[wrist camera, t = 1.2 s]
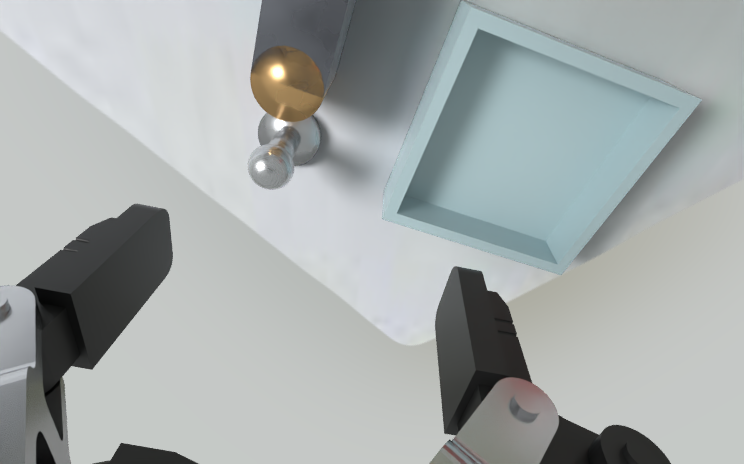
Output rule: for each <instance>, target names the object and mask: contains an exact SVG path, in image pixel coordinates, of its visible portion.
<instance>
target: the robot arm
mask: <svg viewBox="0 0 744 464" xmlns="http://www.w3.org/2000/svg"><path fill="white" fill-rule="evenodd" d="M172 259H173V252H172V243H171V232H170V221H169V214H168V212H167V211H166V210H165V209H162V208H156V207H151V206H146V205H141V204H134V205H132V206H131V207H129V208H128V209H127V210H126V211H125V212H124V213H122V214H121V215H120V216H119V217H118V218H109V219H107V220H104V221H102V222H100V223H97V224H95V225H93V226H90V227H89V228H88V229H87V230H85V231H84V232H83V233H82V234H80V235H79V236H78V237H76V240H73V241H72V242H70V243H69V244H68V245H66V246H65V247H64V250H60V251H59V252H58V253H56V254H55V255H54V256H52V257H51V258H50V259H49V260H47V261H46V262H45V263H44V264H42V265H41V266H40V267H39V268H37V269H36V270H35V271H34V272H32V273H31V274H30V275H29V276H28V277H26V278H25V279H23V280H22V281H21V282H20V283H18V284H17V285H16V286H9V285H7V286H0V464H71V461H70V456H69V447H68V431H67V416H66V401H65V384H64V380H63V378H62V376H63V375H64V374H65V373H66V372H67V370H68V369H69V368H70V367H71V366H75V367H80V368H86V369H93V368H94V366H95V365H96V364H97V363H98V361H99V360H100V359H101V358H102V356H103V355H104V354H105V353H106V351H107V350H108V349H109V348H110V346H111V345H112V344H113V343H114V341H115V340H116V339H117V337H118V336H119V335H120V334H121V333H122V331H123V330H124V329H125V328H126V326H127V325H128V324H129V323H130V321H131V320H132V319H133V318H134V316H135V315H136V314H137V312H138V311H139V310H140V309H141V307H142V306H143V305H144V304H145V303H146V301H147V300H148V299H149V297H150V296H151V295H152V294H153V293H154V291H155V290H156V289H157V287H158V286H159V285H160V284H161V282H162V281H163V280H164V279H165V277H166V276H167V274H168V272H169V270H170V268H171V265H172ZM512 323H513V320H512V317H511V314H510V311H509V308H508V306H507V305H506V303H505V302H504V301H503V300H502V298H501V297H500V296H499V294H498V293H497V292H492V291H487V288H486V285H485V281H484V277H483V274H482V272H481V271H477V270H472V269H467V268H462V267H456V266H455V267H454V268H453V269H452V271H451V273H450V276H449V279H448V281H447V284H446V287H445V289H444V292H443V295H442V298H441V300H440V303H439V306H438V309H437V314H436V321H435V330H436V341H437V352H438V365H439V376H440V388H441V399H442V411H443V422H444V433H445V434H451V435H456V436H455V438H454V439H453V440H452V441H451V440H449V441H448V442H447V443H446V444H445V445H444V446H443V447H442V448H441V450H440V451H439V452H438V453H437V455H436V456H435V457H434V458H433V460H432V461H431V462H430V464H671V463H670V461H669V460H668V458H667V457H666V456H665V454H664V453H663V452H662V451H661V450H660V449H659V448H658V447H657V446H656V445H655V444H654V443H653V442H652V441H651V440H650V439H648V438H647V437H645V436H644V435H642V434H641V433H639V432H638V431H636V430H633V429H631V428H629V427H625V426H621V425H612V426H608V427H607V428H605V429H604V430H603V432H602V433H601V434H600V435H598V434H596V433H593V432H591V431H589V430H587V429H585V428H583V427H581V426H579V425H577V424H574V423H572V422H570V421H568V420H566V419H564V418H562V417H561V416H559V415H558V413H557V410H556V407H555V405H554V404H553V402H552V401H551V399H550V398H549V397H548V396H547V394H545V393H544V392H543V391H542V390H541V389H540V388H539V387H537V386H536V385H534V384H532V381H531V378H530V375H529V371H528V369H527V365H526V362H525V359H524V356H523V352H522V349H521V346H520V343H519V340H518V337H516V334H517V333H516V330H515V327H514V325H513V324H512ZM94 464H198V463H196V462H194V461H192V460H190V459H188V458H186V457H184V456H182V455H180V454H178V453H176V452H171V451H165V450H159V449H153V448H147V447H142V446H136V445H130V444H124V443H121V444H120V446H119V448H118V449H117V451H116V452H115V454H114V456H113V457H112V459H111V460H110V461H104V462H99V463H94Z"/></svg>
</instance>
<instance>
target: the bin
mask: <svg viewBox="0 0 744 464" xmlns="http://www.w3.org/2000/svg"><path fill="white" fill-rule="evenodd" d="M701 101H702V99H700V98H697V97H695V96H693V95H691V94H689V93H687V92H685V91H683V90H681V89H679V88H677V87H675V86H673V85H671V84H669V83H667V82H665V81H662V80H660V79H657V78H655V77H652V76H650V75H647V74H645V73H642V72H640V71H637V70H635V69H632V68H630V67H627V66H625V65H622V64H620V63H618V62H615V61H613V60H610V59H608V58H605V57H603V56H600V55H598V54H595V53H593V52H590V51H588V50H585V49H583V48H580V47H578V46H575V45H573V44H570V43H568V42H565V41H563V40H561V39H558V38H556V37H553V36H551V35H548V34H546V33H543V32H541V31H538V30H536V29H533V28H531V27H528V26H526V25H523V24H521V23H518V22H516V21H513V20H511V19H508V18H506V17H504V16H501V15H499V14H496V13H494V12H491V11H489V10H486V9H484V8H481V7H479V6H476V5H474V4H471V3H469V2H466V1H464V0H461V2H460V4H459V7H458V9H457V12H456V14H455V17H454V19H453V22H452V24H451V27H450V29H449V32H448V34H447V37H446V39H445V41H444V44H443V46H442V49H441V51H440V54H439V56H438V59H437V61H436V64H435V66H434V69H433V71H432V74H431V76H430V79H429V81H428V84H427V86H426V89H425V91H424V93H423V96H422V98H421V101H420V103H419V106H418V108H417V111H416V113H415V116H414V118H413V121H412V123H411V126H410V128H409V131H408V133H407V136H406V138H405V141H404V143H403V146H402V148H401V150H400V153H399V155H398V158H397V160H396V163H395V165H394V168H393V170H392V173H391V175H390V178H389V180H388V183H387V185H386V188H385V190H384V196H383V212H382V219H383V220H386V221H390V222H393V223H396V224H399V225H402V226H405V227H409V228H412V229H415V230H418V231H421V232H425V233H428V234H431V235H434V236H437V237H441V238H444V239H447V240H450V241H453V242H457V243H460V244H463V245H466V246H469V247H473V248H476V249H479V250H482V251H485V252H488V253H492V254H495V255H498V256H501V257H504V258H508V259H511V260H514V261H517V262H520V263H524V264H527V265H530V266H533V267H536V268H540V269H543V270H546V271H549V272H552V273H556V274H559V275H562V274H563V272H564V271H565V270H566V269H567V267H568V266H569V265H570V264H571V262H572V261H573V260H574V259H575V257H576V256H577V255H578V254H579V252H580V251H581V250H582V249H583V247H584V246H585V245H586V244H587V242H588V241H589V240H590V239H591V238H592V236H593V235H594V234H595V233H596V231H597V230H598V229H599V228H600V226H601V225H602V224H603V223H604V221H605V220H606V219H607V218H608V216H609V215H610V214H611V213H612V211H613V210H614V209H615V208H616V206H617V205H618V204H619V203H620V201H621V200H622V199H623V198H624V196H625V195H626V194H627V193H628V192H629V190H630V189H631V188H632V187H633V185H634V184H635V183H636V182H637V180H638V179H639V178H640V177H641V175H642V174H643V173H644V172H645V170H646V169H647V168H648V167H649V165H650V164H651V163H652V162H653V160H654V159H655V158H656V157H657V155H658V154H659V153H660V152H661V150H662V149H663V148H664V147H665V145H666V144H667V143H668V142H669V141H670V139H671V138H672V137H673V136H674V134H675V133H676V132H677V131H678V129H679V128H680V127H681V126H682V124H683V123H684V122H685V121H686V119H687V118H688V117H689V116H690V114H691V113H692V112H693V111H694V109H695V108H696V107H697V106H698V104H699V103H700V102H701Z"/></svg>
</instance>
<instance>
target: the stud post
mask: <svg viewBox="0 0 744 464" xmlns="http://www.w3.org/2000/svg"><path fill="white" fill-rule="evenodd" d="M258 138H259V142H260V145H261V146H260V147H258V148H256V149H255V150H254V151H253V152H252V154H251V155H250V157H249V161H248V172H249V175H250V177H251V178H252V180H253V181H254V182H255V183H256V184H257V185H258V186H260V187H262V188H265V189H269V190H274V189H279V188H282V187H284V186H285V185H286V184H288V183H289V181H290V180H291V178H292V176H293V173H294V166H298V165H302V164H305V163H307V162H308V161H310V160H311V159H312V158H313V157H314V155H315V154H316V152H317V150H318V147H319V145H320V141H321V132H320V128H319V125H318V123H317V121H316V120H315V118H314V117H313V116H310V117H309V118H307V119H305V120H302V121H297V122H287V121H282V120H279V119H277V118H275V117H273V116H271V115H270V114H268V113H266V114H265V116H264V117H263V118H262V120H261V121H260V124H259V127H258Z"/></svg>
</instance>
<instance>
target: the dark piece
mask: <svg viewBox="0 0 744 464" xmlns="http://www.w3.org/2000/svg"><path fill="white" fill-rule="evenodd" d="M355 3H356V0H262V5H261V11H260V18H259V24H258V30H257V37H256V43H255V50H254V56H253V62H252V69H251V77H250V80H251V88H252V91H253V94H254V97H255V99H256V100H257V102H258V103H259V105H260V106H261V107H262V108H263V109H264V110H265V111H266V112H267V113H268V114H270V115H271V116H273V117H275V118H277V119H279V120H282V121H287V122H297V121H302V120H305V119H307V118H309V117H310V116H312V115H313V114H314V113H315V112H316V111H317V110H318V108H319V107H320V105H321V103H322V101H323V99H324V97H325V95H326V93H327V91H328V89H329V87H330V85H331V83H332V81H333V79H334V77H335V75H336V72H337V69H338V65H339V61H340V58H341V54H342V50H343V47H344V43H345V39H346V36H347V32H348V28H349V25H350V21H351V17H352V14H353V10H354V6H355Z"/></svg>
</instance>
